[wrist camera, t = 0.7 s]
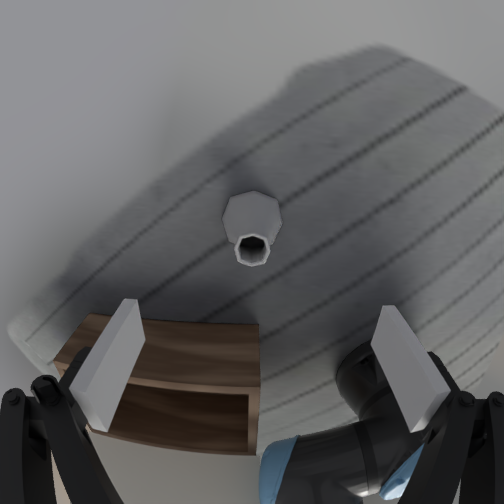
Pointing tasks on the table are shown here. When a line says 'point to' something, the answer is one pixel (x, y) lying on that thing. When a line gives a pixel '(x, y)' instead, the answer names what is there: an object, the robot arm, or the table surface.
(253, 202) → the flask
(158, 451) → the lid
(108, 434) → the bin
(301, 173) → the table surface
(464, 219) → the table surface
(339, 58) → the table surface
